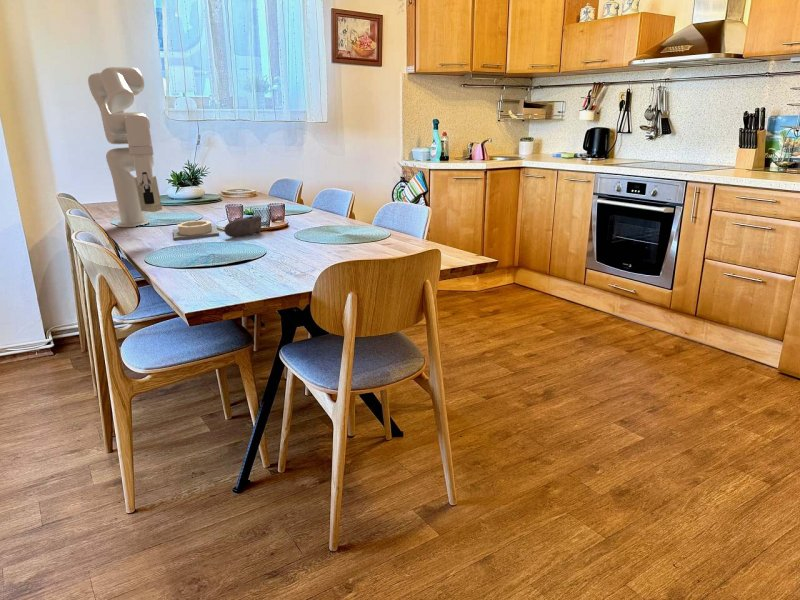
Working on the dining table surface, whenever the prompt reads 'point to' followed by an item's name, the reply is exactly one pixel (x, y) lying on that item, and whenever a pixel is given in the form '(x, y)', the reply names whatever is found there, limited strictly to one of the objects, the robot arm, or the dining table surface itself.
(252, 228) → the perforated stone tool
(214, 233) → the collar board
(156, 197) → the skincare box
